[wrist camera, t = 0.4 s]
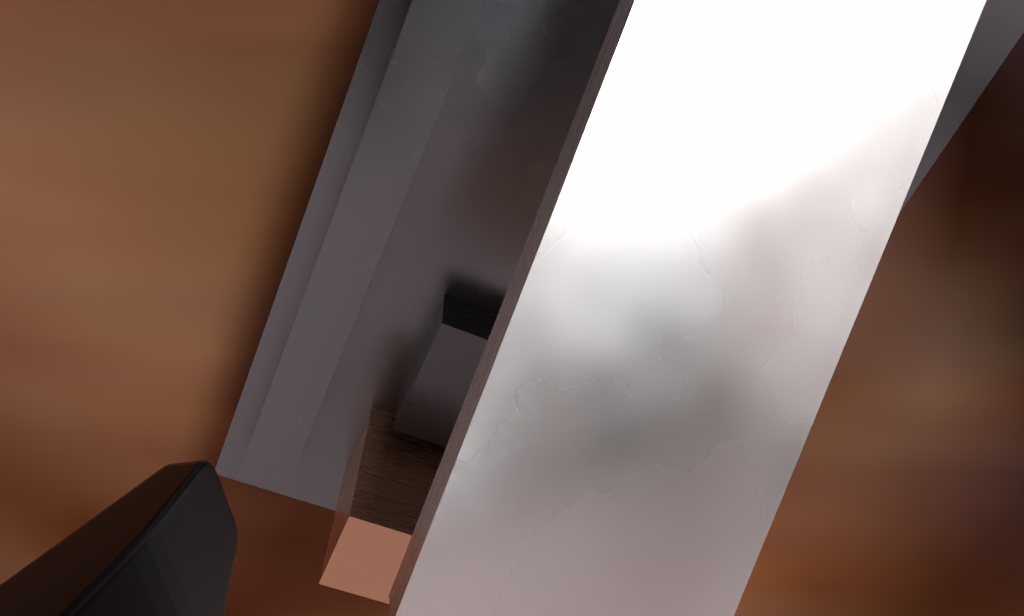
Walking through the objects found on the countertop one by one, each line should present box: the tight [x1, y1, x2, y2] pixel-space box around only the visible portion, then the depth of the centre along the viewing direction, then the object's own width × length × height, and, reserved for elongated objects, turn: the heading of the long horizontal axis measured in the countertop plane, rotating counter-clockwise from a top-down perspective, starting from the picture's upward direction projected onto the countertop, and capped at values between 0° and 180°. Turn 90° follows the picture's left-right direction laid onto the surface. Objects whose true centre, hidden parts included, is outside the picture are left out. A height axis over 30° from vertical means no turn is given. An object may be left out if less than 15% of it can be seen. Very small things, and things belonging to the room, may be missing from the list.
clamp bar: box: [389, 0, 986, 616], centre depth 13 cm, size 5×17×2 cm, turn 156°
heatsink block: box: [215, 0, 1024, 604], centre depth 17 cm, size 12×24×6 cm, turn 156°
